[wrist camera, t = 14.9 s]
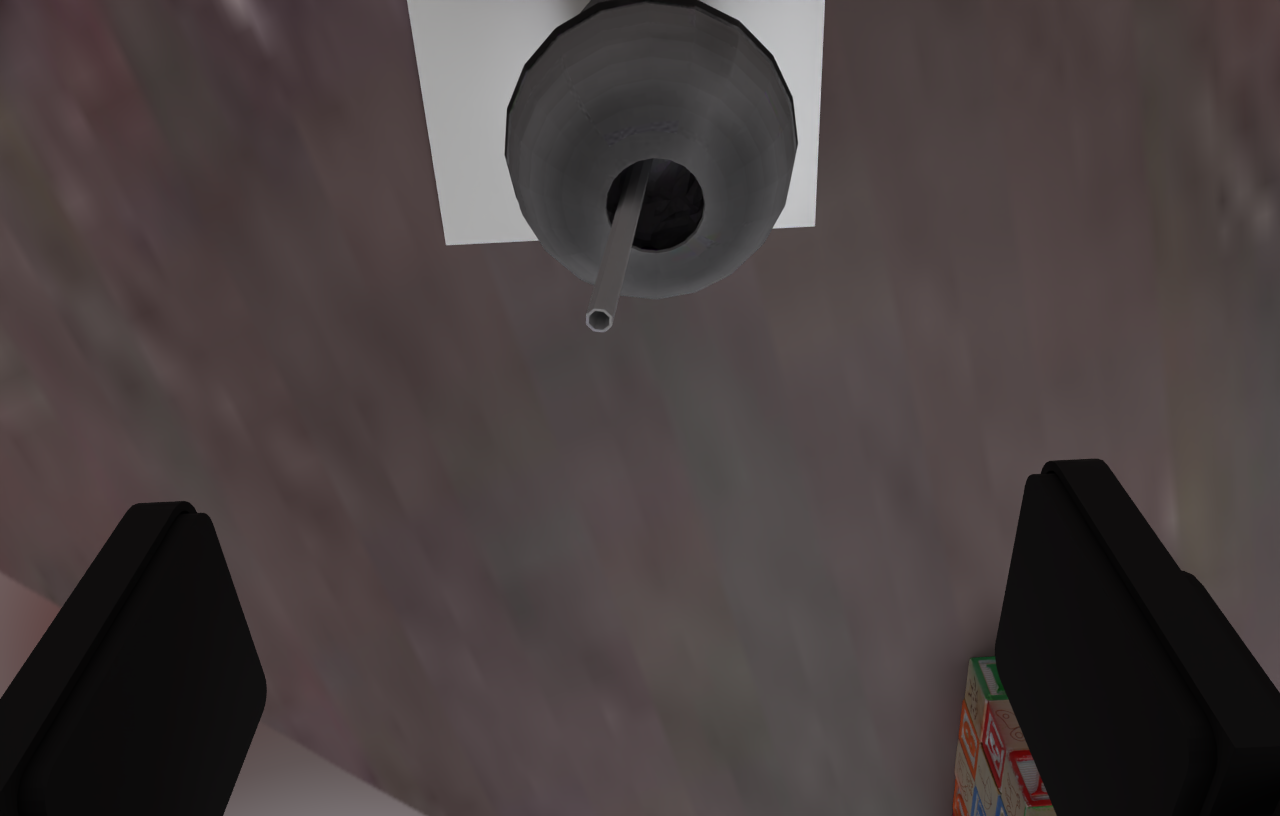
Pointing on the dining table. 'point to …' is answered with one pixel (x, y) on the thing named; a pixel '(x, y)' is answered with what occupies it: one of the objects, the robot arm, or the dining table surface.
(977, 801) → the stack of blocks
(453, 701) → the dining table surface
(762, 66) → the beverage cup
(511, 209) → the tile
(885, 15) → the dining table surface
